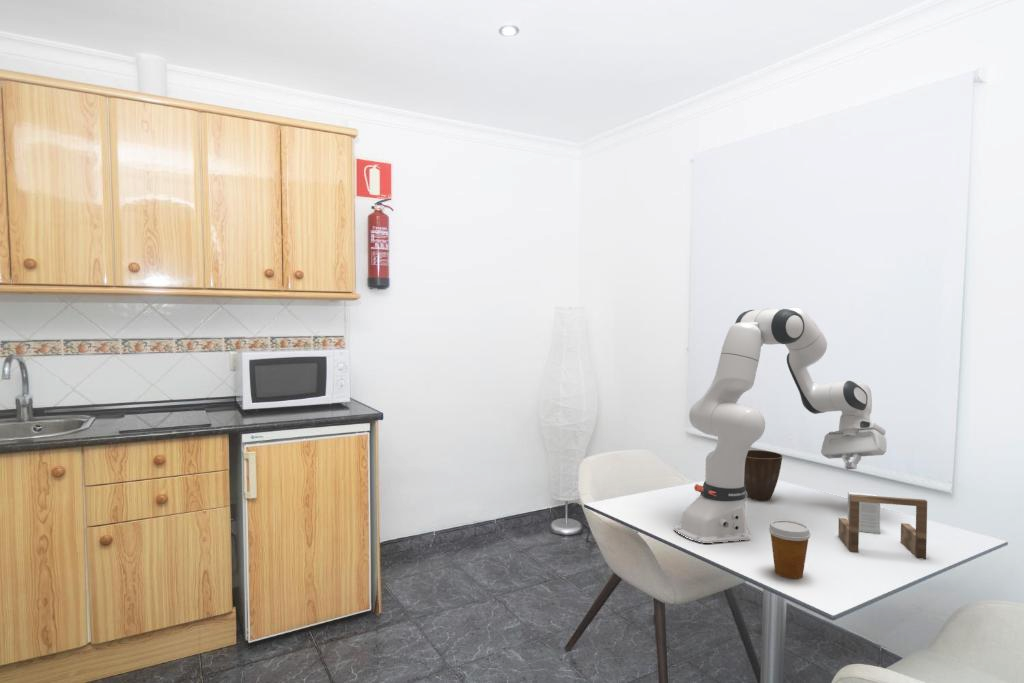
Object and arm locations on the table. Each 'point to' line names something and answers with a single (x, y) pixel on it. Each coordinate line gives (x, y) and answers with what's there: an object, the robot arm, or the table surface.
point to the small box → (868, 515)
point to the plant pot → (761, 474)
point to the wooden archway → (909, 535)
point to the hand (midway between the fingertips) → (850, 468)
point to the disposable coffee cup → (789, 547)
